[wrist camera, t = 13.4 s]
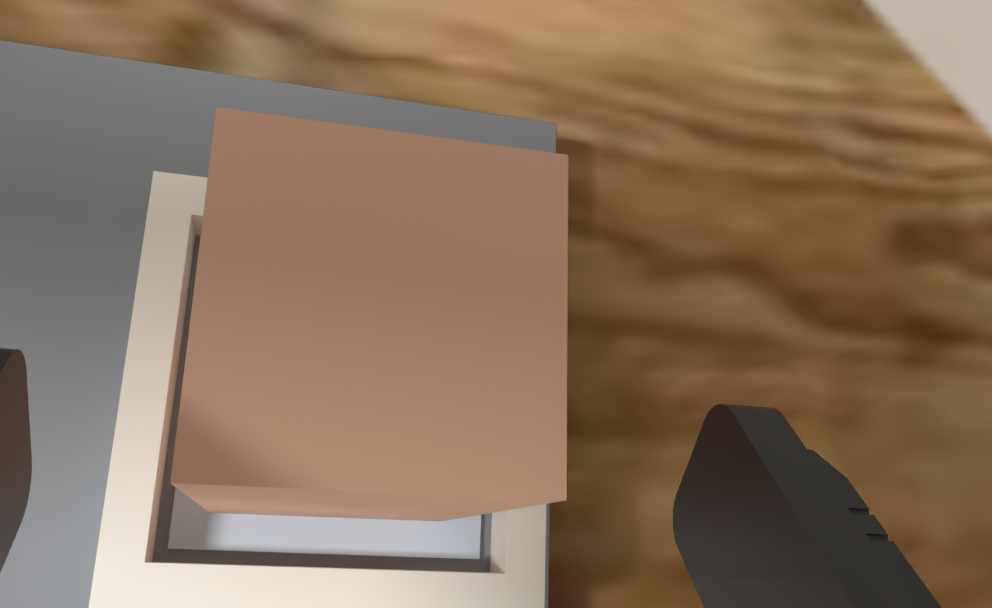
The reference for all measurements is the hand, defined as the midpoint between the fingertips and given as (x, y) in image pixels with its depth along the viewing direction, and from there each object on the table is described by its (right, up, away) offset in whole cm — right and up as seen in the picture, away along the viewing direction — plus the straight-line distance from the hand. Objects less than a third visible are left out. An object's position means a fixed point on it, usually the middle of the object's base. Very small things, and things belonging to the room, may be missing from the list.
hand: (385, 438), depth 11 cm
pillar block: (-2, 0, +8) cm, 8 cm away
